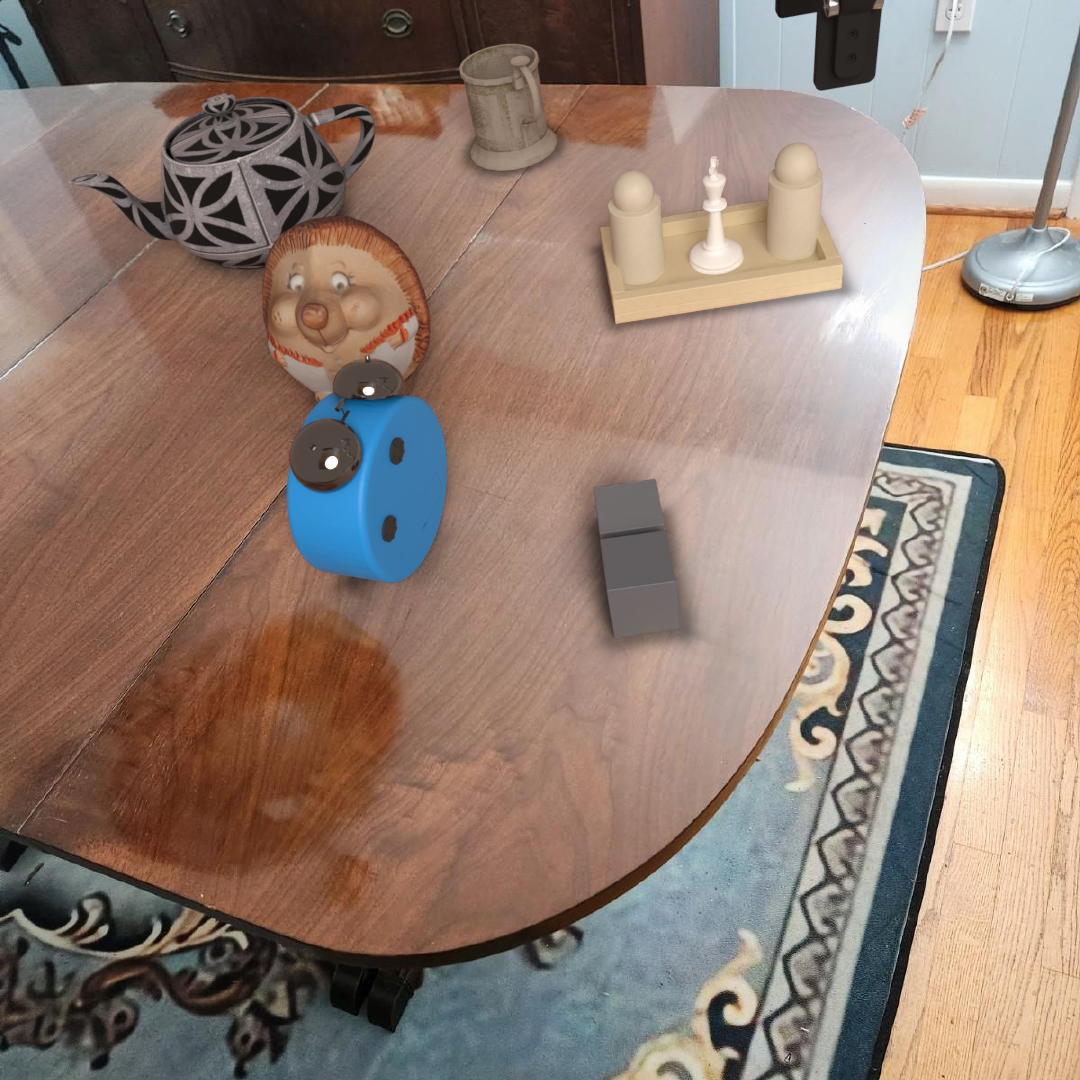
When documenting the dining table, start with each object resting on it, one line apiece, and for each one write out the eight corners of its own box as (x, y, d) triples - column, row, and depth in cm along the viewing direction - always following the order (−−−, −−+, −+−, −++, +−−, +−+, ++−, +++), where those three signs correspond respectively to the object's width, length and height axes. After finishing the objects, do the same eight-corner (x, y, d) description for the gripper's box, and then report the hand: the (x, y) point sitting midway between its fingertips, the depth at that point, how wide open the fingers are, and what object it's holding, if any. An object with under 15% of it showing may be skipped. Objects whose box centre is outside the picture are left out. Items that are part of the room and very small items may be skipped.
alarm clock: (395, 480, 81) (339, 330, 70) (465, 490, 79) (419, 336, 68) (324, 609, 73) (249, 462, 62) (401, 622, 71) (337, 474, 60)
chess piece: (682, 273, 92) (677, 171, 84) (696, 242, 94) (692, 141, 87) (736, 277, 90) (736, 174, 82) (748, 245, 93) (749, 143, 85)
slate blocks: (659, 520, 74) (655, 470, 70) (679, 629, 67) (675, 581, 63) (600, 528, 74) (592, 479, 70) (614, 638, 67) (606, 590, 64)
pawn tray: (809, 216, 96) (816, 106, 88) (841, 288, 88) (851, 175, 80) (602, 249, 98) (590, 145, 90) (615, 324, 90) (603, 216, 82)
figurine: (272, 448, 86) (202, 302, 74) (297, 334, 96) (239, 191, 85) (438, 427, 84) (391, 275, 73) (444, 313, 95) (405, 165, 84)
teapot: (115, 242, 113) (47, 113, 102) (372, 156, 117) (333, 23, 106) (132, 331, 101) (57, 195, 90) (419, 231, 105) (380, 90, 94)
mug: (458, 145, 116) (434, 39, 107) (534, 117, 118) (517, 10, 109) (508, 198, 107) (486, 86, 98) (590, 166, 108) (576, 54, 100)
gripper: (999, -325, 39) (935, 104, 52) (875, -385, 51) (848, -22, 63) (804, -286, 40) (789, 129, 52) (725, -354, 51) (729, 0, 64)
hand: (821, 46), depth 58 cm, fingers open, 9 cm apart
